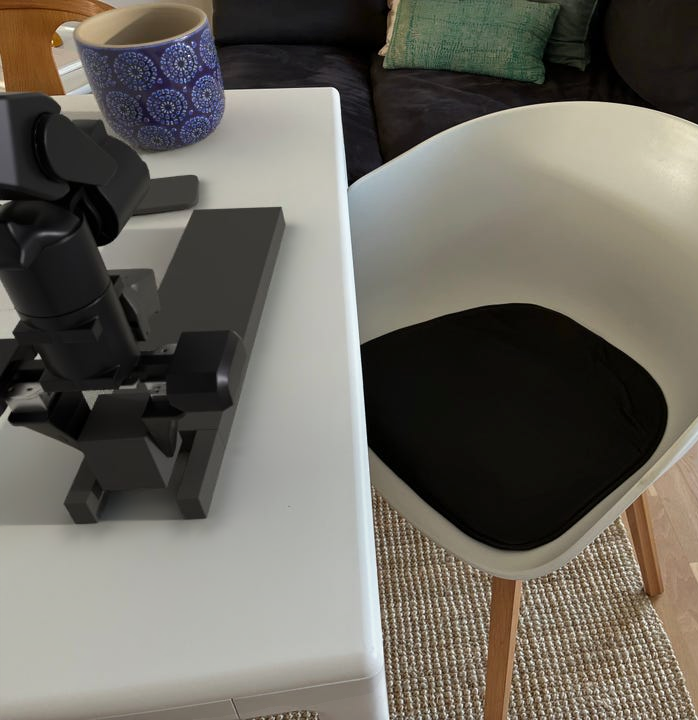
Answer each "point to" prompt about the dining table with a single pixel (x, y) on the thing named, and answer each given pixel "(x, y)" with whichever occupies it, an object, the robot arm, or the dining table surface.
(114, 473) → the pad block
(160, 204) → the phone
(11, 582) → the dining table surface
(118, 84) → the planter
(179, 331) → the base pad
